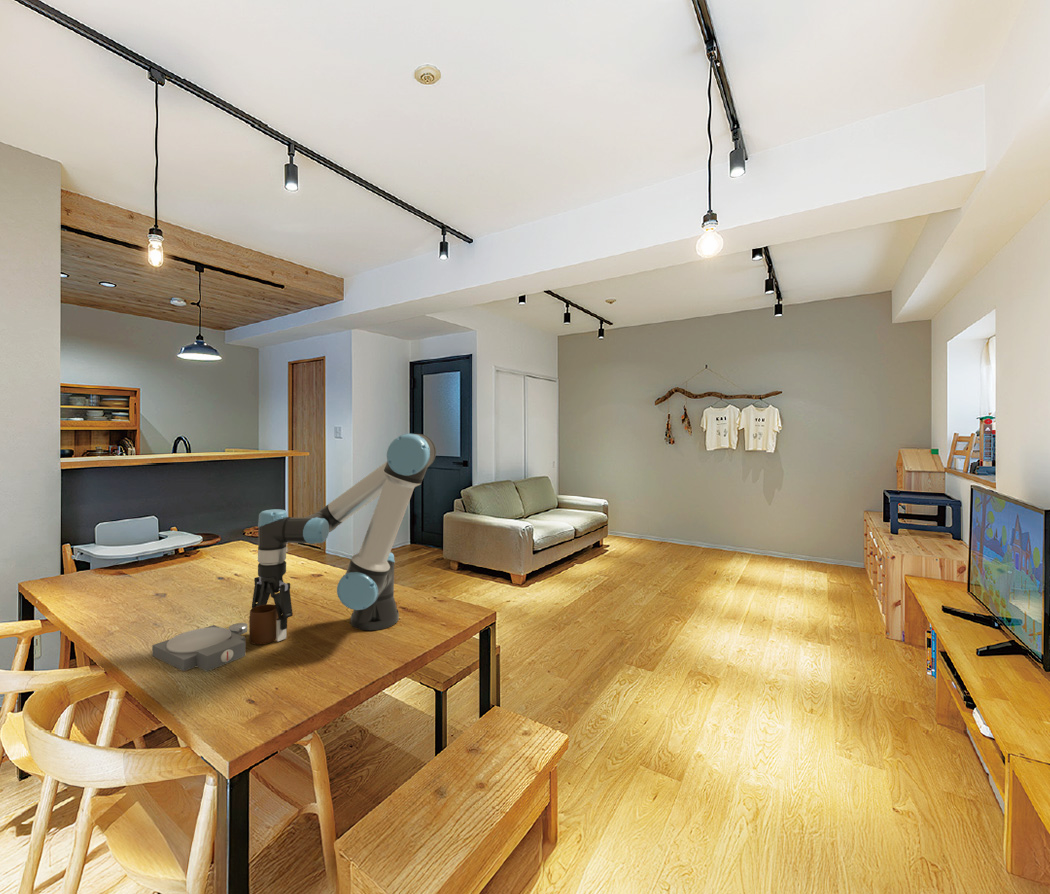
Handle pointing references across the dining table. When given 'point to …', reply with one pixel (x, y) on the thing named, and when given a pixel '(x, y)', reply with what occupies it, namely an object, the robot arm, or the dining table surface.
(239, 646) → the scale
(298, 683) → the dining table surface
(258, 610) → the mug
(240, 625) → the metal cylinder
